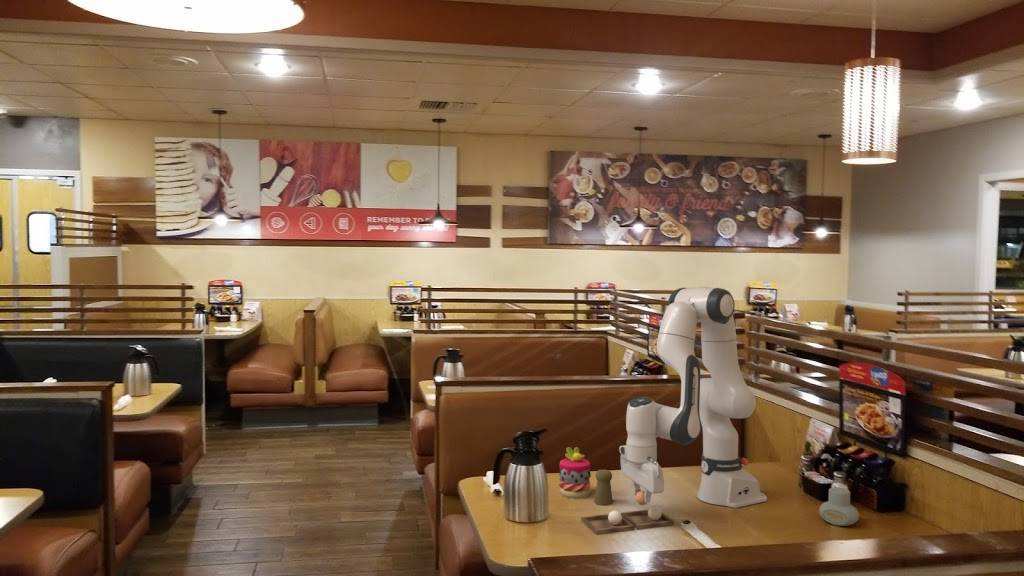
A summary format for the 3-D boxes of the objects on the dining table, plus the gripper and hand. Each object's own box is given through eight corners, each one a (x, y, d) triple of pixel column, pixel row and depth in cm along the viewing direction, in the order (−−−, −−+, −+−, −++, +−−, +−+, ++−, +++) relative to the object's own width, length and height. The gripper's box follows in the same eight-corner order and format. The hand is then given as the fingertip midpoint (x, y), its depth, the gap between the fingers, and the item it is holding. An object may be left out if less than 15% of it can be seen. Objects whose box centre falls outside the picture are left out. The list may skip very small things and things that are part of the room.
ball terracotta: (645, 501, 218) (644, 488, 218) (651, 505, 214) (651, 492, 214) (633, 503, 217) (632, 490, 216) (639, 507, 213) (639, 494, 213)
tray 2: (655, 514, 223) (655, 508, 223) (674, 527, 213) (674, 521, 213) (620, 518, 220) (620, 512, 220) (637, 531, 209) (637, 525, 209)
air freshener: (815, 522, 218) (816, 489, 217) (823, 514, 224) (824, 483, 224) (854, 531, 211) (855, 497, 210) (861, 523, 217) (862, 490, 217)
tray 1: (617, 518, 219) (617, 512, 219) (634, 532, 209) (634, 525, 209) (580, 522, 216) (580, 517, 216) (596, 536, 205) (596, 530, 205)
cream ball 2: (657, 516, 219) (657, 503, 219) (663, 521, 216) (664, 508, 216) (645, 518, 218) (645, 505, 218) (651, 522, 214) (652, 509, 214)
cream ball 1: (618, 521, 215) (618, 508, 215) (624, 526, 212) (624, 512, 212) (605, 522, 214) (605, 509, 214) (611, 527, 210) (611, 514, 210)
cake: (596, 495, 241) (597, 450, 240) (572, 501, 235) (572, 455, 234) (576, 487, 249) (577, 444, 249) (552, 492, 243) (552, 448, 243)
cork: (612, 508, 229) (612, 473, 228) (593, 506, 230) (593, 472, 229) (613, 501, 234) (614, 468, 234) (594, 500, 236) (595, 467, 235)
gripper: (669, 461, 206) (670, 509, 206) (634, 443, 225) (635, 487, 226) (649, 464, 204) (650, 512, 204) (616, 445, 223) (617, 489, 224)
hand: (642, 498), depth 215 cm, fingers closed on ball terracotta, 4 cm apart
